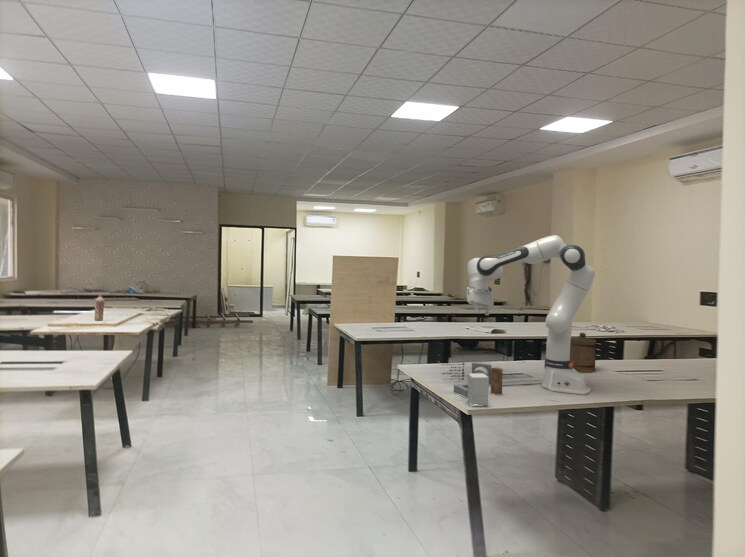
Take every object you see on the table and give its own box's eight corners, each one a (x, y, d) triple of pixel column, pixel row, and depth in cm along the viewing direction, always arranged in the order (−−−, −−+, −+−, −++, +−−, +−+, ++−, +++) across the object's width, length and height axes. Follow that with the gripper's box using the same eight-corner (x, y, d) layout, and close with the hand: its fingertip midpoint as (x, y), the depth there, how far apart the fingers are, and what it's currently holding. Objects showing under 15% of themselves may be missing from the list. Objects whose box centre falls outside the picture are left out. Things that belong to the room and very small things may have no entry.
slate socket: (471, 390, 229) (471, 383, 229) (484, 396, 220) (484, 388, 219) (453, 392, 225) (454, 384, 225) (465, 398, 216) (466, 390, 215)
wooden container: (598, 370, 280) (600, 333, 279) (589, 374, 269) (591, 335, 268) (572, 366, 290) (574, 330, 289) (563, 369, 279) (564, 332, 279)
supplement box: (483, 401, 211) (484, 373, 211) (488, 406, 204) (489, 377, 203) (467, 401, 211) (467, 372, 210) (471, 406, 203) (472, 377, 203)
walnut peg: (497, 392, 226) (497, 367, 226) (501, 394, 223) (502, 369, 223) (490, 393, 225) (491, 367, 225) (495, 395, 222) (496, 369, 221)
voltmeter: (487, 380, 250) (488, 361, 250) (496, 386, 239) (497, 366, 238) (438, 381, 246) (439, 362, 245) (445, 387, 234) (446, 367, 234)
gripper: (472, 283, 242) (476, 310, 238) (493, 289, 256) (497, 314, 252) (462, 286, 246) (465, 313, 242) (483, 292, 260) (487, 317, 256)
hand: (482, 313), depth 247 cm, fingers open, 8 cm apart
